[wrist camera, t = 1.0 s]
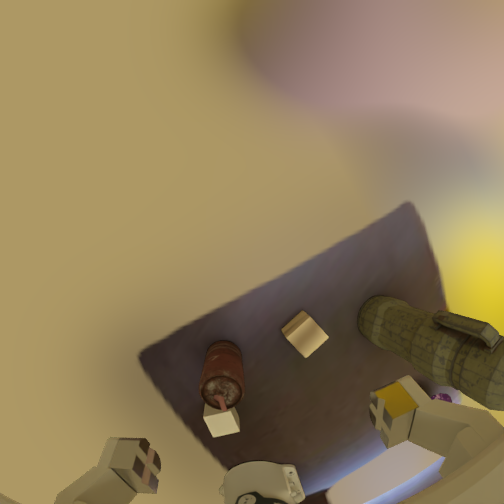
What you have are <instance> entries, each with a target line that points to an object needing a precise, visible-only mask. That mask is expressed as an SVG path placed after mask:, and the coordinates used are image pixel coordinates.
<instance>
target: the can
mask: <svg viewBox="0 0 504 504" xmlns="http://www.w3.org/2000/svg"><path fill="white" fill-rule="evenodd" d="M199 394H200V396H201V398H202V399H203V401H204V402H205V403H206V404H207V405H208V406H210V407H212V408H214V409H218V410H222V411H224V412H225V411H227V410H228V409H231V408H233V407H235V406H236V405H238V404H239V402H240V401H241V400H242V399H243V397H244V394H245V384H244V374H243V364H242V354H241V352H240V349H239V348H238V347H237V346H236V345H235V344H233V343H232V342H229V341H218V342H215V343H214V344H212V345H211V346H210V347H209V349H208V350H207V354H206V358H205V362H204V366H203V370H202V375H201V379H200V383H199Z"/></svg>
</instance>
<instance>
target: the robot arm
mask: <svg viewBox="0 0 504 504" xmlns="http://www.w3.org/2000/svg"><path fill="white" fill-rule="evenodd" d="M370 400H371V401H372V404H371V405H370V407H369V413H370V418H371V421H372V423H373V425H374V427H375V429H378V430H380V431H381V434H380V437H381V439H382V441H383V443H384V444H385V446H386V448H387V449H388V448H391V447H393V446H395V445H397V444H399V443H402V442H404V441H406V440H408V441H410V442H412V443H414V444H416V445H419V446H421V447H423V448H425V449H427V450H430V451H432V452H434V453H437V454H439V455H441V456H443V457H446V458H445V460H444V462H443V463H442V465H441V467H440V469H439V473H440V474H441V476H442V477H443V479H441V480H440V481H438V482H437V483H435V484H433V485H431V486H430V487H428V488H426V489H424V490H423V491H421V492H419V493H417V494H415V495H413V496H411V497H409V498H407V499H405V500H403V501H401V502H399V503H397V504H504V427H503V426H502V425H501V424H500V423H499V422H498V421H497V420H496V419H495V418H494V417H493V416H492V415H491V414H490V413H489V412H488V411H486V410H481V409H476V408H472V407H467V406H463V405H459V404H455V403H451V402H447V401H443V400H439V399H433V400H431V399H430V397H429V396H428V395H427V394H426V393H425V392H424V391H423V390H422V389H421V387H420V386H419V385H418V384H417V383H416V382H415V381H414V380H413V379H412V378H411V376H408V375H407V376H405V377H403V378H401V379H399V380H396V381H394V382H392V383H389V384H387V385H385V386H382V387H380V388H378V389H375V390H373V391H371V393H370ZM149 446H150V443H149V442H148V441H147V439H145V438H117V437H114V438H113V437H110V438H109V439H107V442H106V444H105V447H104V449H103V452H102V455H101V457H100V460H99V463H98V465H97V467H93V468H92V469H91V470H89V471H88V472H86V473H85V474H84V475H83V476H81V477H80V478H79V479H77V480H76V481H75V482H73V483H72V484H71V485H69V486H68V487H67V488H66V489H64V490H63V491H61V492H60V493H59V494H58V495H57V497H56V501H55V503H54V504H129V503H130V502H131V501H132V499H133V498H134V497H135V496H136V495H137V493H152V494H156V493H157V487H158V479H157V477H156V475H157V474H158V473H159V472H160V469H161V462H160V458H159V456H158V454H157V453H156V451H155V450H153V449H151V448H150V447H149ZM219 493H220V494H221V495H223V496H224V502H225V504H298V503H300V502H301V501H302V500H303V499H305V493H304V491H303V488H302V485H301V482H300V479H299V477H298V474H297V471H296V468H295V466H294V465H292V464H282V465H281V464H276V463H272V462H266V461H253V462H247V463H243V464H240V465H238V466H235V467H234V468H232V469H231V470H229V471H228V472H227V474H226V475H225V478H224V483H223V485H222V486H221V487H220V489H219ZM0 504H20V503H18V502H16V501H14V500H12V499H10V498H8V497H6V496H5V495H3V494H1V493H0Z"/></svg>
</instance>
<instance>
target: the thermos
mask: <svg viewBox="0 0 504 504" xmlns="http://www.w3.org/2000/svg"><path fill="white" fill-rule="evenodd" d="M357 324H358V328H359V331H360V332H361V334H362V335H363V336H365V337H366V338H367V339H368V340H369V341H371V342H372V343H374V344H375V345H377V346H378V347H380V348H381V349H384V350H391V351H392V352H394V353H395V354H397V355H399V356H400V357H402V358H403V359H405V360H407V361H408V362H410V363H412V365H413V367H414V369H416V370H417V371H418V372H420V373H421V374H423V375H424V376H426V377H427V378H429V379H431V380H432V381H434V382H435V383H437V384H438V385H440V386H451V387H453V388H454V389H456V390H460V391H461V392H462V393H463V394H465V395H466V396H468V397H470V398H472V399H473V400H475V401H477V402H478V403H480V404H481V405H483V406H485V407H487V408H488V409H490V410H498V411H504V337H503V336H501V335H499V333H498V331H497V330H496V329H494V328H493V327H492V326H491V325H490V324H489V323H487V322H483V321H479V320H476V319H472V318H469V317H465V316H461V315H458V314H454V313H451V312H446V311H438V312H437V313H436V314H433V313H430V312H427V311H424V310H420V309H417V308H414V307H411V306H409V305H408V304H407V302H405V301H402V300H399V299H396V298H392V297H385V296H382V295H379V296H374V297H372V298H370V299H368V300H367V301H366V302H365V303H364V304H363V306H362V307H361V309H360V311H359V314H358V320H357Z"/></svg>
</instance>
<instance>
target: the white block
mask: <svg viewBox="0 0 504 504" xmlns="http://www.w3.org/2000/svg"><path fill="white" fill-rule="evenodd" d="M203 418H204V420H205V422H206V424H207V426H208V428H209V430H210V432H211V434H212V436H213V437H218V436H223V435H227V434H232V433H236V432H240V425H239V416H238V414H237V411H236V409H235V407H233V408H231V409H228V410H227V411H225V412H224V411H222V410H218V409H214V408H212V407H210V406H208V405H207V404H206V403H205V408H204V414H203Z"/></svg>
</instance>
